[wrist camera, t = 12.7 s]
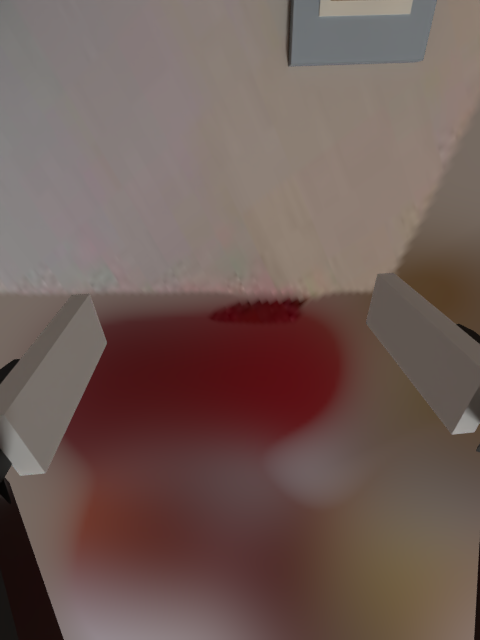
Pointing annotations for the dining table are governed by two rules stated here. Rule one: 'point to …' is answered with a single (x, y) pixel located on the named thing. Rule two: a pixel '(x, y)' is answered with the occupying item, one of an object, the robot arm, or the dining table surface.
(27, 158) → the dining table surface
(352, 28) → the board
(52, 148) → the dining table surface
